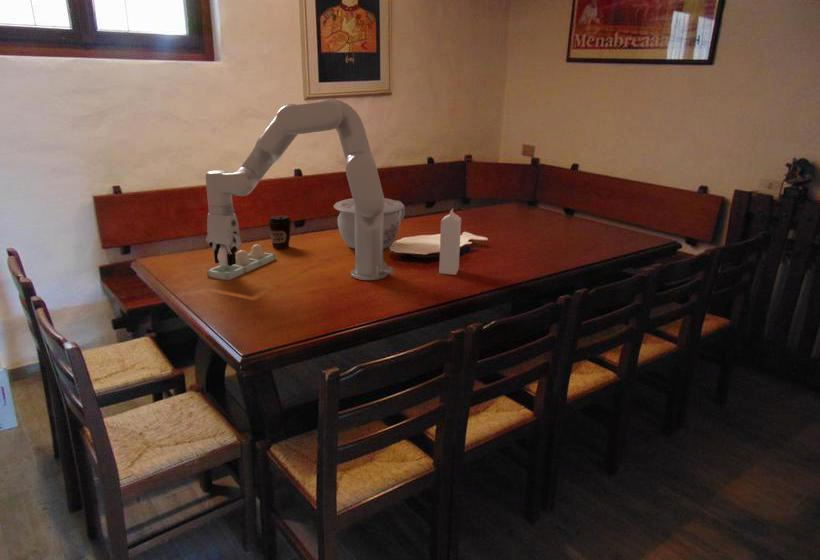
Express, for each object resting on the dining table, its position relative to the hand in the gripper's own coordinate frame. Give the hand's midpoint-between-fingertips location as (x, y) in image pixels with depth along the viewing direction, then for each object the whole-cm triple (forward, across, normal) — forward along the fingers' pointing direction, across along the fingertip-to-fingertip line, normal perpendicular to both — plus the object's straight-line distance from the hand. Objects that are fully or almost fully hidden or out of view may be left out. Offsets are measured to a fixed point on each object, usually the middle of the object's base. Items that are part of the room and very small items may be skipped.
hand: (225, 262), depth 195 cm
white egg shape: (0, 0, 0) cm, 0 cm away
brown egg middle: (+4, 0, -8) cm, 9 cm away
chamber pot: (+5, -25, -54) cm, 60 cm away
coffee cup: (+5, +3, -34) cm, 35 cm away
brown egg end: (+4, 0, -16) cm, 17 cm away
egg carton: (+5, +4, -8) cm, 10 cm away
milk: (+5, -64, -40) cm, 76 cm away
